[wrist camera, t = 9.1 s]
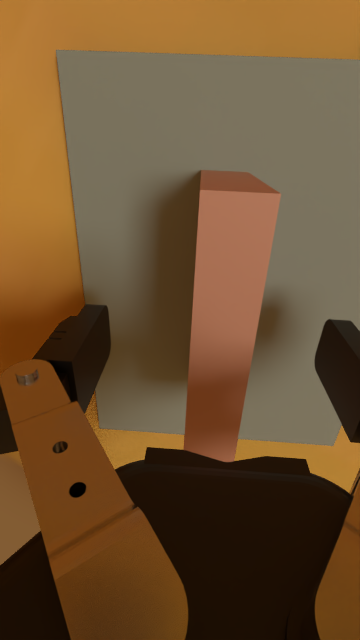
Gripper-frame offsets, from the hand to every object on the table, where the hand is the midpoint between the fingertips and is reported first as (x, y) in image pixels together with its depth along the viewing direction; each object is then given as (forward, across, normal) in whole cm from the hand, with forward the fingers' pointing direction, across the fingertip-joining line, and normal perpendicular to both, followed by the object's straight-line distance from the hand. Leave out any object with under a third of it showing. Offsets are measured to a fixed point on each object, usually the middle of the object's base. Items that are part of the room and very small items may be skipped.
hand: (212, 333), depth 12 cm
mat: (+4, -1, 0) cm, 4 cm away
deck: (+3, 0, 0) cm, 3 cm away
